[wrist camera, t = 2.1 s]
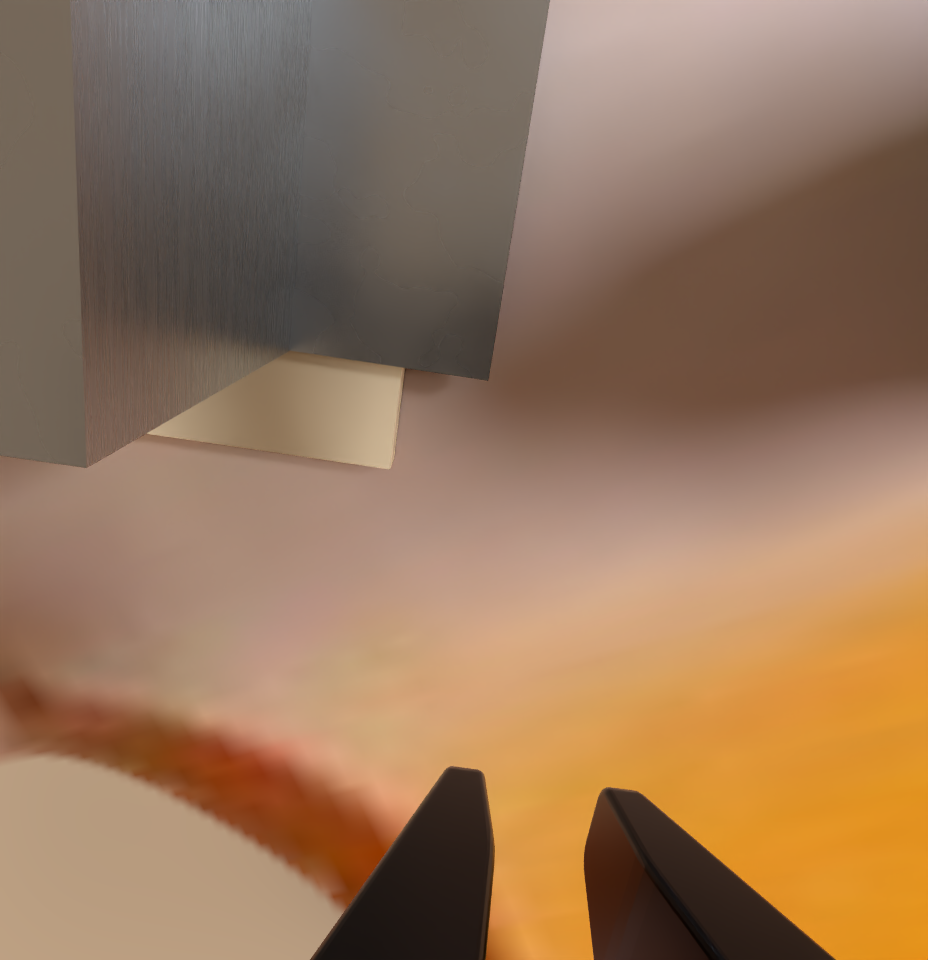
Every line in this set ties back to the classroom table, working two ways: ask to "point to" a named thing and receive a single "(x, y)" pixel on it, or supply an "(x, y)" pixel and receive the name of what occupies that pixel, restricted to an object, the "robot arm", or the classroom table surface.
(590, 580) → the classroom table surface
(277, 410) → the shelf
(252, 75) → the bookend
